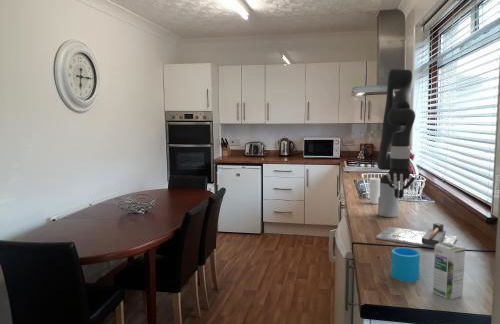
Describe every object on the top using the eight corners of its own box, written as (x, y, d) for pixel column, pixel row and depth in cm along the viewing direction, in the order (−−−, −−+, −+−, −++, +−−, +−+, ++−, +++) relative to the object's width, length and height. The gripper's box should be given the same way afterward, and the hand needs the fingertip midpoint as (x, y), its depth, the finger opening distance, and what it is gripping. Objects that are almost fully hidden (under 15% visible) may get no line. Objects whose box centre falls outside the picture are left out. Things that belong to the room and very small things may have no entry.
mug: (422, 282, 118) (423, 257, 117) (394, 281, 119) (395, 256, 118) (411, 268, 130) (412, 244, 129) (386, 266, 131) (387, 243, 130)
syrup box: (431, 292, 111) (433, 243, 110) (445, 288, 114) (447, 240, 112) (449, 300, 106) (451, 249, 105) (463, 296, 109) (466, 246, 107)
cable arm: (431, 231, 166) (431, 222, 166) (446, 233, 163) (446, 224, 162) (421, 243, 151) (422, 233, 150) (438, 245, 147) (438, 235, 147)
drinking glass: (380, 202, 232) (381, 178, 230) (380, 205, 226) (381, 179, 224) (369, 202, 234) (369, 177, 233) (368, 204, 228) (369, 179, 226)
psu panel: (376, 238, 162) (376, 235, 162) (388, 228, 177) (388, 226, 177) (450, 250, 146) (450, 247, 146) (457, 238, 161) (457, 236, 160)
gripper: (419, 157, 159) (417, 198, 161) (386, 155, 167) (385, 195, 168) (415, 158, 153) (413, 201, 155) (381, 157, 161) (379, 197, 162)
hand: (398, 198), depth 162 cm, fingers closed
